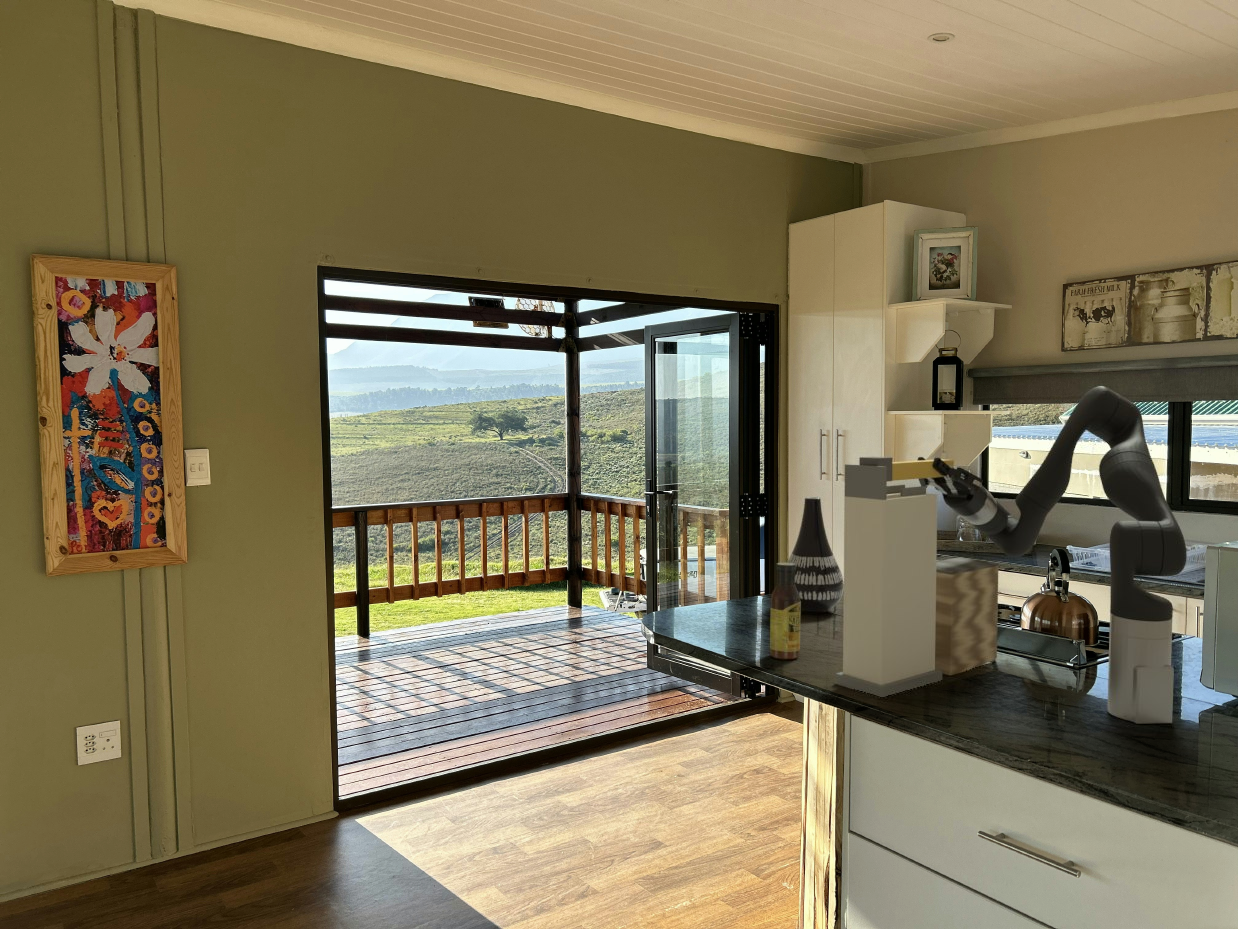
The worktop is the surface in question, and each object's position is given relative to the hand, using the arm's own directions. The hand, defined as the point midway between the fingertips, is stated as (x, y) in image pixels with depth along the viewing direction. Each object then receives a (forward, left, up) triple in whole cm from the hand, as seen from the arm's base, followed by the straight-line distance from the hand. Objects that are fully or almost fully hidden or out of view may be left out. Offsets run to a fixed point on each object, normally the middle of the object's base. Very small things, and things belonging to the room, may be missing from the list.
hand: (926, 461), depth 181 cm
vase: (+55, +9, -42) cm, 70 cm away
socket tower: (-6, +9, -42) cm, 43 cm away
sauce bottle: (+13, +25, -42) cm, 51 cm away
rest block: (+5, -8, -42) cm, 43 cm away
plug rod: (-3, +5, -3) cm, 6 cm away
